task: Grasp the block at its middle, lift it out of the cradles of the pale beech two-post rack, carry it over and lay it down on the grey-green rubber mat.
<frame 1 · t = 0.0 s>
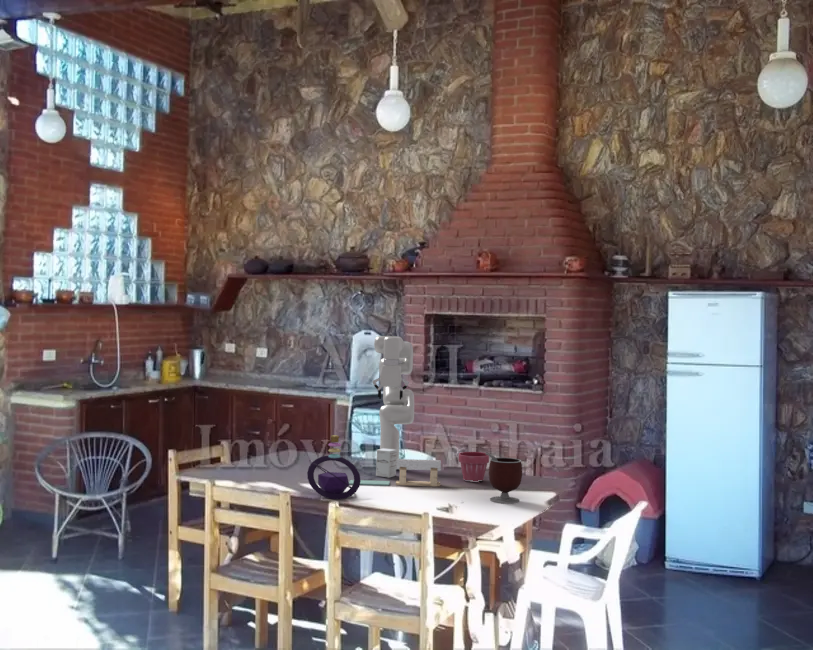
hand: (390, 399, 417), 37 cm above the table, tool pointing down, fingers open, 9 cm apart
decorative bottle: (333, 495, 369), on the table
plant pot: (473, 481, 411), on the table
rack: (418, 484, 398), on the table
mat: (369, 483, 397), on the table
mate gourd: (502, 501, 367), on the table
supplement box: (385, 476, 418), on the table
block: (418, 469, 398), point 7 cm above the table, touching rack
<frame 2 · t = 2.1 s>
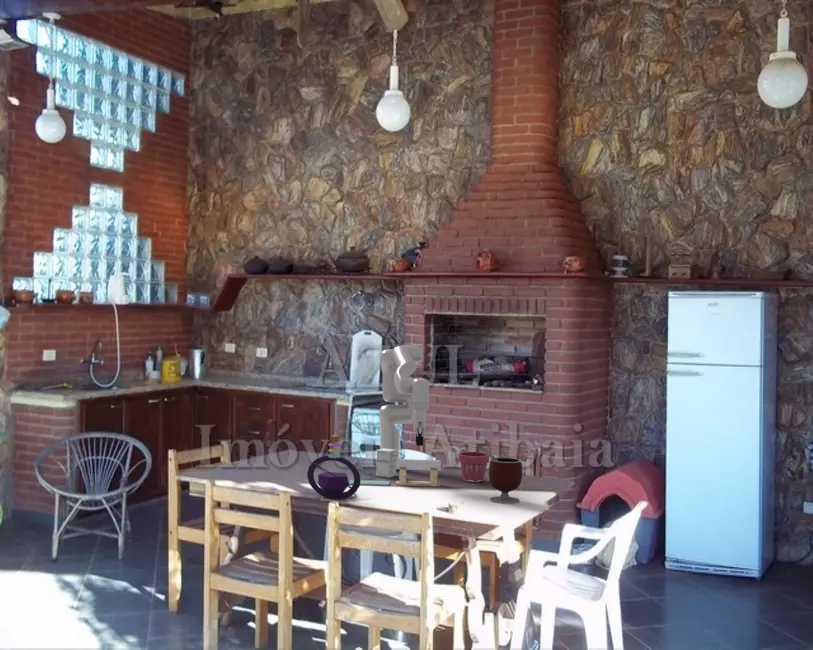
hand: (419, 444, 397), 18 cm above the table, tool pointing down, fingers open, 9 cm apart
nothing on the table moved.
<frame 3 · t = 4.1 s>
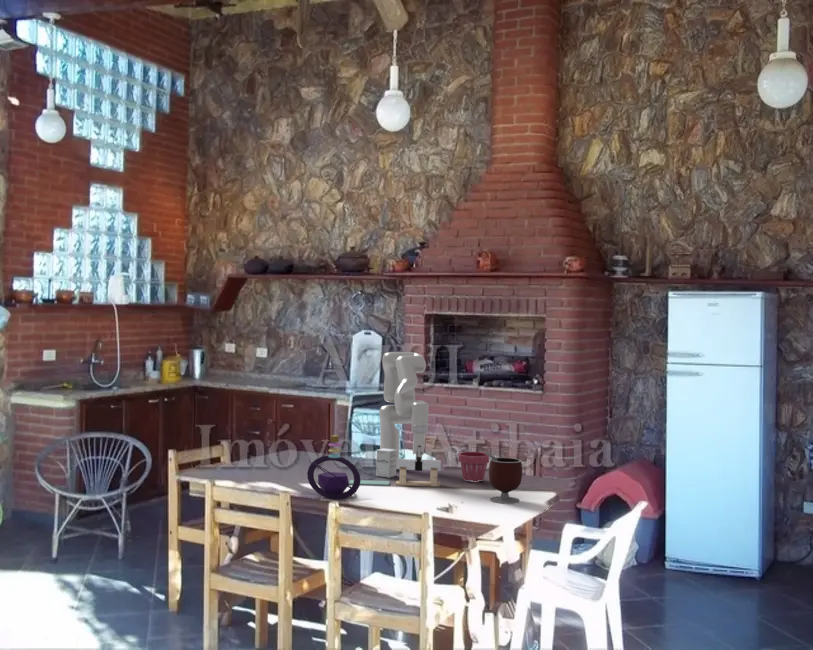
hand: (418, 469, 398), 7 cm above the table, tool pointing down, fingers closed on block, 4 cm apart
block: (418, 469, 398), point 7 cm above the table, touching gripper, rack
everything else where it was.
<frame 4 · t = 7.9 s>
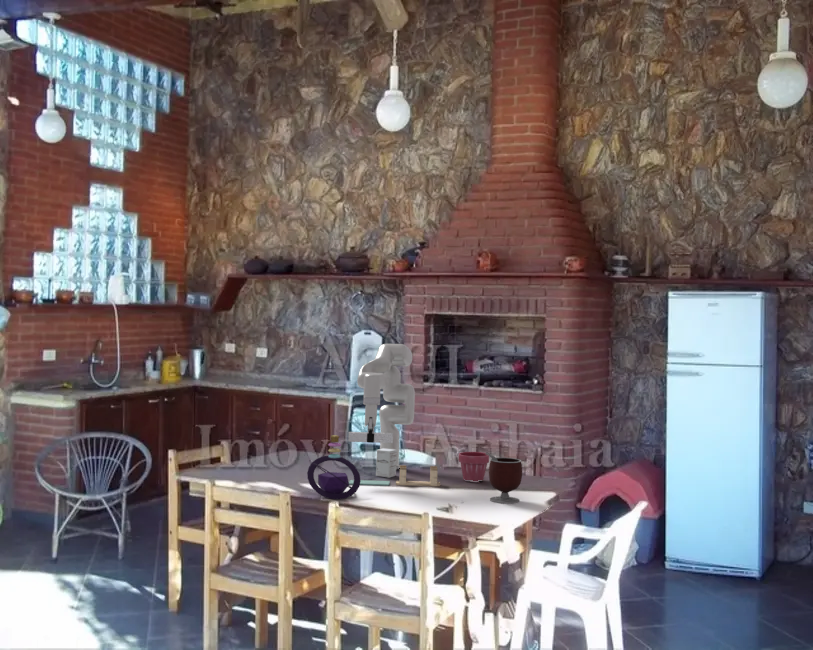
hand: (370, 441, 397), 19 cm above the table, tool pointing down, fingers closed on block, 4 cm apart
block: (370, 441, 397), point 19 cm above the table, touching gripper
everything else where it was.
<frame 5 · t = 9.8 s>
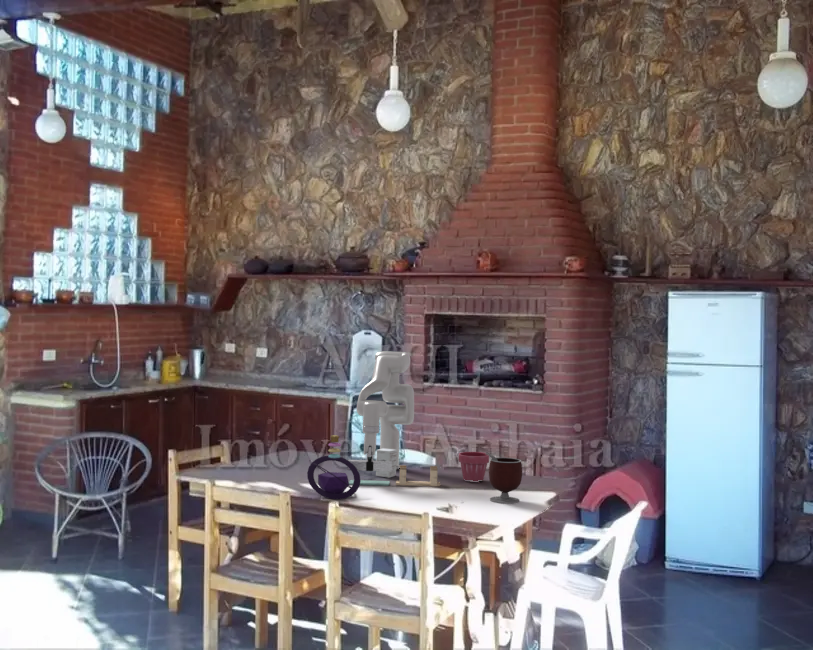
hand: (369, 469, 397), 6 cm above the table, tool pointing down, fingers closed on block, 4 cm apart
block: (369, 470, 397), point 6 cm above the table, touching gripper
everything else where it was.
when the fingers open (2 cm above the table, at t = 11.5 s): block drops 1 cm, resting on mat.
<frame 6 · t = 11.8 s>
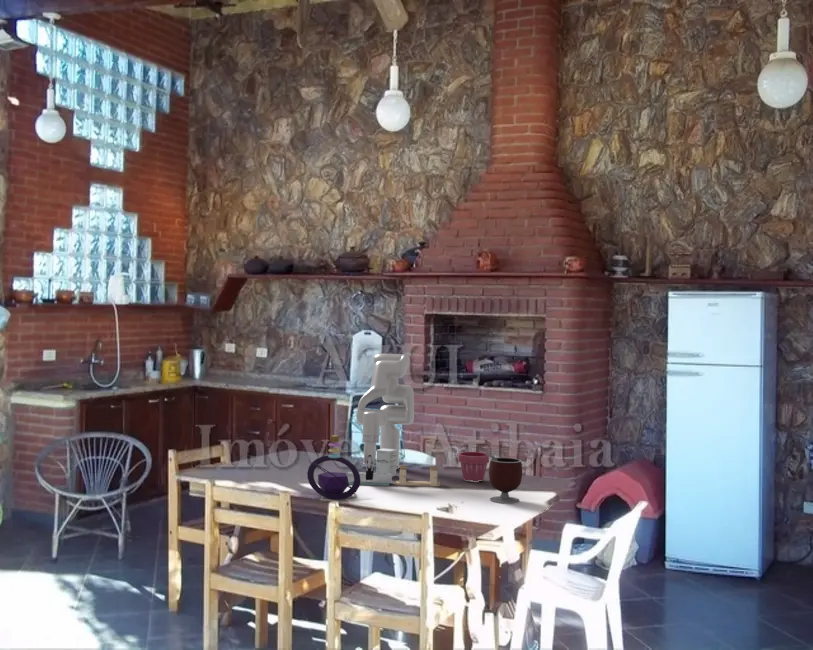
hand: (369, 478, 397), 2 cm above the table, tool pointing down, fingers open, 6 cm apart
block: (369, 482, 398), point 1 cm above the table, touching mat
everything else where it was.
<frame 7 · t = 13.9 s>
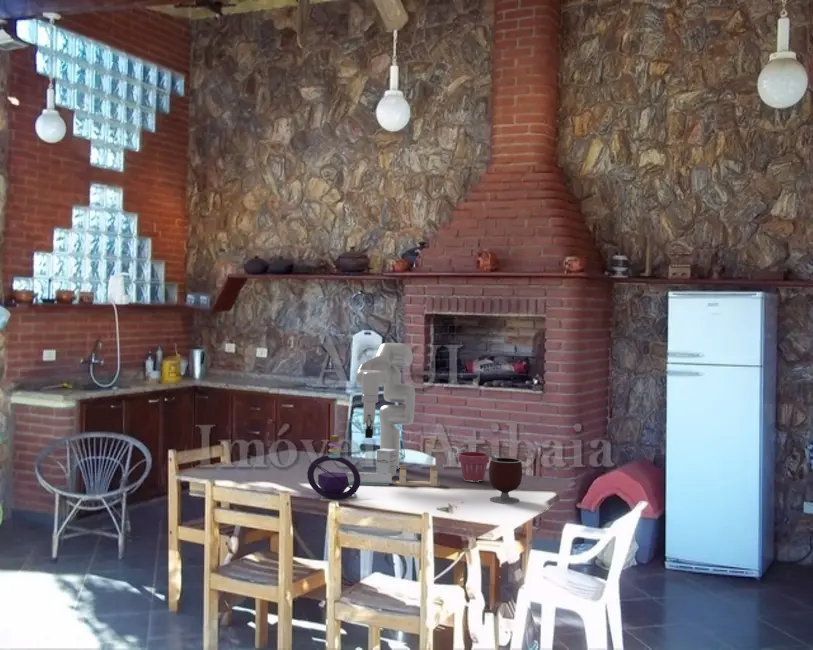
hand: (369, 436, 400), 21 cm above the table, tool pointing down, fingers open, 9 cm apart
nothing on the table moved.
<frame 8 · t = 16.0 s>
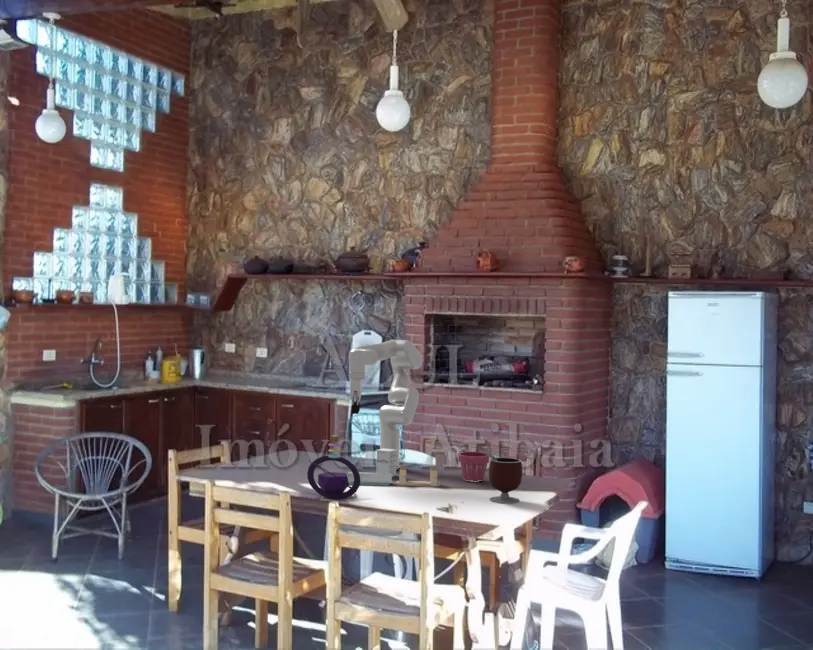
hand: (355, 412, 413), 30 cm above the table, tool pointing down, fingers open, 9 cm apart
nothing on the table moved.
at the end: block inside the target area on the mat (0.2 cm from its centre), point 0.6 cm above the mat's base; block touching mat; the gripper is holding nothing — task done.
